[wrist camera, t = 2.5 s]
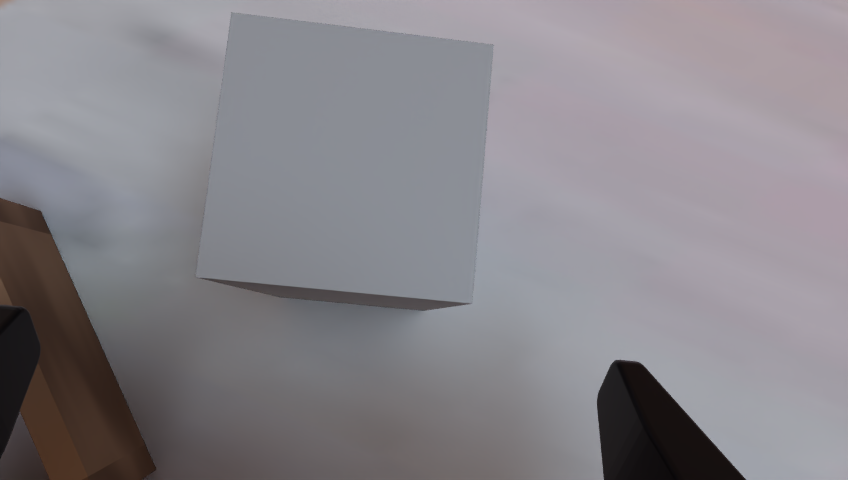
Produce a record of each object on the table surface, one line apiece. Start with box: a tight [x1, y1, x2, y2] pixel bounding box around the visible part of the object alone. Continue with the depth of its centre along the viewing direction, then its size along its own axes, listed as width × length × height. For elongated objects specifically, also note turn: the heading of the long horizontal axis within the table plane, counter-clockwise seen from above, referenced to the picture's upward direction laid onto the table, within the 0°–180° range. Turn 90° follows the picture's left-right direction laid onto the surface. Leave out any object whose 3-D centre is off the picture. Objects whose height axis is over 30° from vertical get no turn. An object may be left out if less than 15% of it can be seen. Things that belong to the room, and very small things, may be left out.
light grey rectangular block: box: [195, 12, 494, 311], centre depth 16 cm, size 4×4×10 cm
